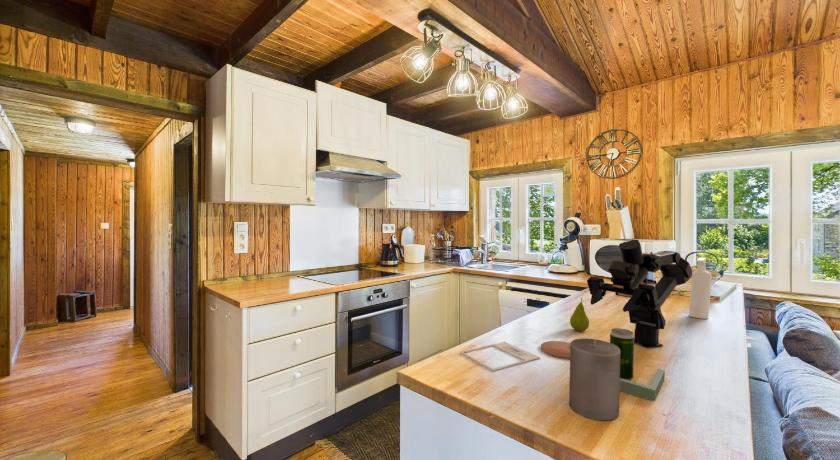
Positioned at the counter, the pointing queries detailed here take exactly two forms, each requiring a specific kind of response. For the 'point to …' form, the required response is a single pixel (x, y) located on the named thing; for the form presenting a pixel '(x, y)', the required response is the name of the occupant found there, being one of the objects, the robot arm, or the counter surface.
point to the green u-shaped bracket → (644, 386)
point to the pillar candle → (594, 379)
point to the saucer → (557, 349)
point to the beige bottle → (700, 291)
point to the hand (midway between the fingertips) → (606, 306)
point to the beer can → (624, 350)
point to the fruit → (579, 318)
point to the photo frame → (508, 349)
